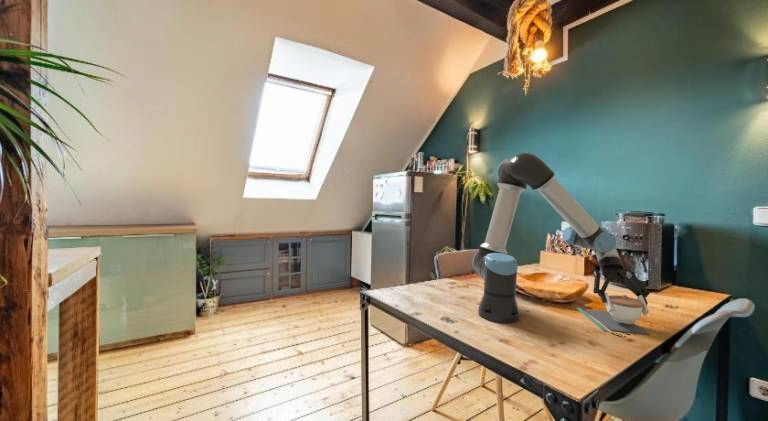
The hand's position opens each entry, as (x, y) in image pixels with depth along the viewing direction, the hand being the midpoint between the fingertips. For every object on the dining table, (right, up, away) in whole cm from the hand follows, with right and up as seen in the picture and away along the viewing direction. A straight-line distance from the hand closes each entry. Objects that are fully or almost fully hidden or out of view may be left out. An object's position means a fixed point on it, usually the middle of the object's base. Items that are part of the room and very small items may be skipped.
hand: (628, 312), depth 116 cm
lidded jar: (0, -4, +3) cm, 5 cm away
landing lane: (-1, -6, +7) cm, 9 cm away
